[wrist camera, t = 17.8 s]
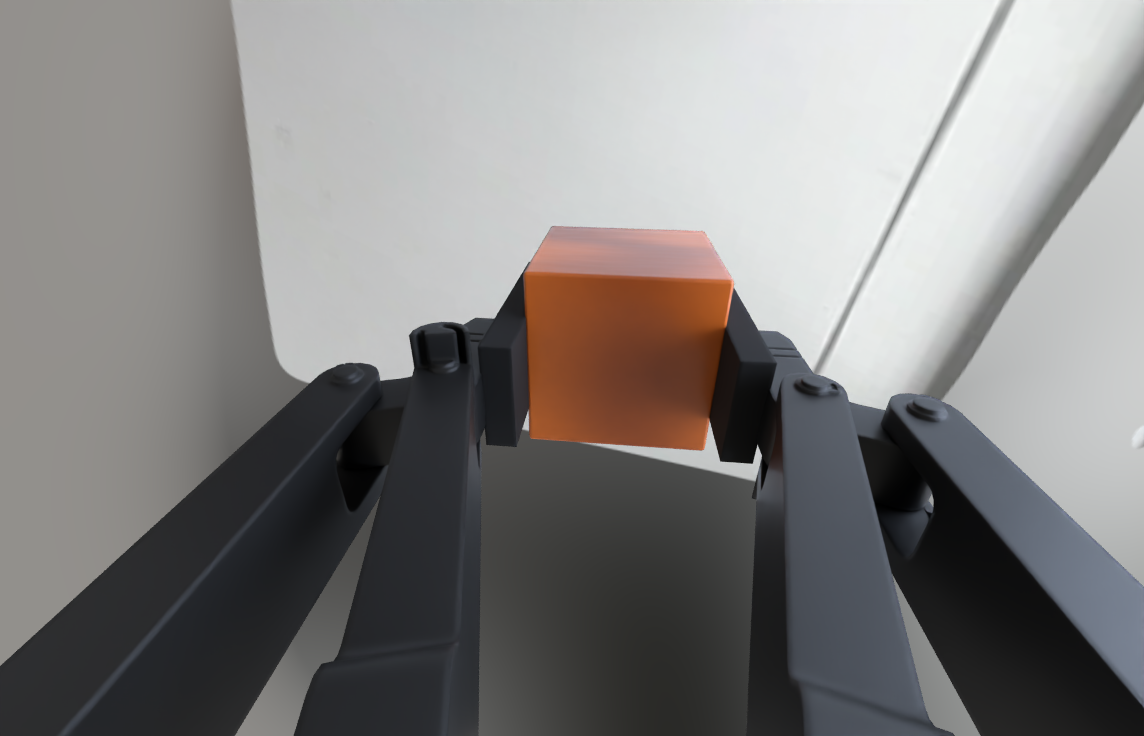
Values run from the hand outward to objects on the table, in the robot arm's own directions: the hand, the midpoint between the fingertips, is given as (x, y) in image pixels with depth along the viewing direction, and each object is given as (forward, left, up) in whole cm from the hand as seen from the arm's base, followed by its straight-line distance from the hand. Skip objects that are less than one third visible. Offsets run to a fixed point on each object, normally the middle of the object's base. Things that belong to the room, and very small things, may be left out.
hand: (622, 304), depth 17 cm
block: (0, 0, 0) cm, 0 cm away
